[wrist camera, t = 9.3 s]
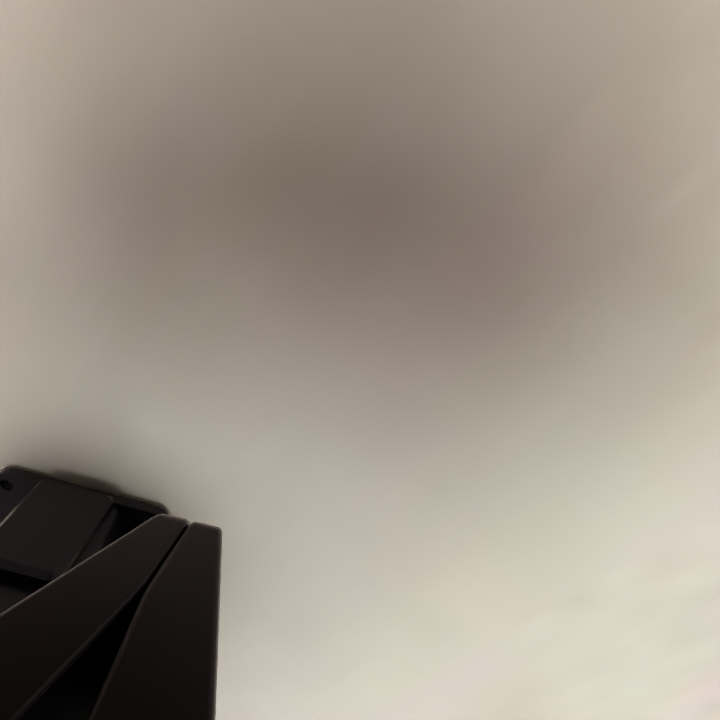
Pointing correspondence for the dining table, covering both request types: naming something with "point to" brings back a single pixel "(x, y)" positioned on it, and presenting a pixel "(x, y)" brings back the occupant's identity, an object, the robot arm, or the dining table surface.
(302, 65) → the dining table surface
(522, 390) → the dining table surface
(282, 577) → the dining table surface
